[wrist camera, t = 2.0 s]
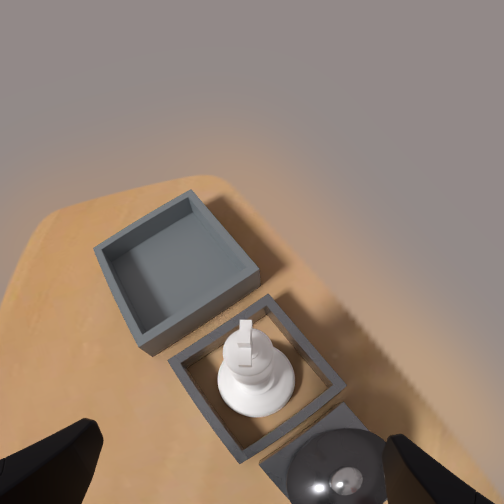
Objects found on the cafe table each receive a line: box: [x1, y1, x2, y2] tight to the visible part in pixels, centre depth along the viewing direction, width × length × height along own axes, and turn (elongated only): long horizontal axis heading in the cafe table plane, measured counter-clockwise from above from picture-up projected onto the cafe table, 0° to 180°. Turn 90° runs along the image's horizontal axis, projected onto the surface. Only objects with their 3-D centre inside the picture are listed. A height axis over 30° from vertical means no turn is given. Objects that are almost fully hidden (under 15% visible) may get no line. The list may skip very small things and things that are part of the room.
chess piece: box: [218, 320, 295, 417], centre depth 14 cm, size 5×5×10 cm
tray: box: [93, 190, 261, 357], centre depth 22 cm, size 9×9×2 cm
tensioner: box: [167, 294, 387, 504], centre depth 15 cm, size 15×8×4 cm, turn 36°
